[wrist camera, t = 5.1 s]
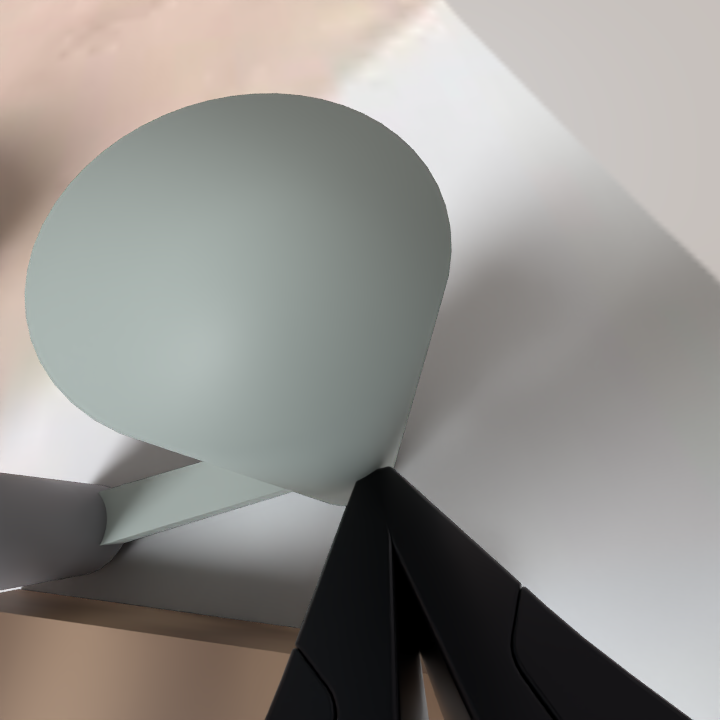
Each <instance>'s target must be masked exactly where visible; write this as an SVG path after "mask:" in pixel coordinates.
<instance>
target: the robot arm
mask: <svg viewBox="0 0 720 720" xmlns="http://www.w3.org/2000/svg"><path fill="white" fill-rule="evenodd" d="M295 647H296V648H294V649H293V650H292V651H291V654H290V657H289V659H288V662H287V665H286V668H285V670H284V673H283V676H282V678H281V681H280V683H279V686H278V688H277V691H276V693H275V696H274V698H273V700H272V703H271V705H270V708H269V710H268V713H267V715H266V718H265V720H429V717H428V710H427V702H426V695H425V688H424V681H423V673H422V666H421V659H420V654H421V657H422V660H423V663H424V665H425V668H426V671H427V674H428V677H429V679H430V682H431V685H432V688H433V690H434V693H435V696H436V699H437V701H438V704H439V707H440V710H441V713H442V715H443V718H444V720H692V719H691V718H690V717H688V716H687V715H685V714H684V713H683V712H681V711H680V710H679V709H677V708H676V707H675V706H673V705H672V704H671V703H669V702H668V701H667V700H665V699H664V698H663V697H661V696H660V695H659V694H657V693H656V692H654V691H653V690H652V689H650V688H649V687H648V686H646V685H645V684H644V683H642V682H641V681H640V680H638V679H637V678H636V677H634V676H633V675H632V674H630V673H629V672H628V671H626V670H625V669H624V668H622V667H621V666H620V665H619V664H617V663H616V662H615V661H613V660H612V659H611V658H609V657H608V656H607V655H606V654H604V653H603V652H602V651H600V650H599V649H598V648H596V647H595V646H594V645H593V644H591V643H590V642H589V641H587V640H586V639H585V638H584V637H582V636H581V635H580V634H579V633H578V632H577V631H575V630H574V629H573V628H572V627H571V626H569V625H568V624H567V623H566V622H565V621H564V620H562V619H561V618H560V617H559V616H558V615H557V614H555V613H554V612H553V611H552V610H551V609H549V608H548V607H547V606H546V605H545V604H544V603H543V602H542V601H541V600H539V599H538V598H537V597H536V596H535V595H534V594H533V593H532V592H531V591H529V590H528V589H527V588H526V587H522V586H521V583H520V582H519V581H518V580H517V579H516V578H515V577H514V576H512V575H511V574H510V573H509V572H508V571H507V570H506V569H505V568H504V567H502V566H501V565H500V564H499V563H498V562H497V561H496V560H495V559H494V558H492V557H491V556H490V555H489V554H488V553H487V552H486V551H485V550H484V549H482V548H481V547H480V546H479V545H478V544H477V543H476V542H475V541H474V540H472V539H471V538H470V537H469V536H468V535H467V534H466V533H465V532H464V531H462V530H461V529H460V528H459V527H458V526H457V525H456V524H455V523H454V522H452V521H451V520H450V519H449V518H448V517H447V516H446V515H445V514H444V513H442V512H441V511H440V510H439V509H438V508H437V507H436V506H435V505H434V504H432V503H431V502H430V501H429V500H428V499H427V498H426V497H425V496H424V495H422V494H421V493H420V492H419V491H418V490H417V489H416V488H415V487H414V486H412V485H411V484H410V483H409V482H408V481H407V480H406V479H405V478H404V477H402V476H401V475H400V474H399V473H398V472H397V471H396V470H395V469H393V468H392V467H390V466H386V467H383V468H379V469H376V470H375V471H373V472H372V473H370V474H369V475H367V476H366V477H364V478H362V479H360V480H358V481H356V482H355V485H354V487H353V490H352V493H351V495H350V498H349V501H348V503H347V506H346V509H345V511H344V514H343V517H342V519H341V522H340V525H339V527H338V530H337V533H336V535H335V538H334V541H333V543H332V546H331V549H330V551H329V554H328V557H327V559H326V562H325V564H324V567H323V570H322V572H321V575H320V578H319V580H318V583H317V586H316V588H315V591H314V594H313V596H312V599H311V602H310V604H309V607H308V610H307V612H306V615H305V618H304V620H303V623H302V626H301V628H300V631H299V634H298V636H297V639H296V642H295Z"/></svg>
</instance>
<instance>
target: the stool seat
mask: <svg viewBox="0 0 720 720" xmlns="http://www.w3.org/2000/svg"><path fill="white" fill-rule="evenodd" d="M299 631H300V628H293V627H286V626H279V625H272V624H265V623H258V622H250V621H243V620H236V619H229V618H222V617H215V616H207V615H200V614H193V613H186V612H179V611H172V610H165V609H157V608H150V607H143V606H136V605H129V604H122V603H114V602H107V601H100V600H93V599H86V598H79V597H71V596H64V595H57V594H50V593H43V592H36V591H29V590H21V589H17V590H12V591H7V592H2V593H0V720H265V718H266V715H267V713H268V710H269V708H270V705H271V703H272V700H273V698H274V696H275V693H276V691H277V688H278V686H279V683H280V681H281V678H282V676H283V673H284V670H285V668H286V665H287V662H288V659H289V657H290V654H291V651H292V650H293V649H294V648H296V647H295V642H296V639H297V636H298V634H299ZM420 659H421V666H422V673H423V681H424V688H425V695H426V702H427V710H428V717H429V720H444V718H443V715H442V713H441V710H440V707H439V704H438V701H437V699H436V696H435V693H434V690H433V688H432V685H431V682H430V679H429V677H428V674H427V671H426V668H425V665H424V663H423V660H422V657H421V654H420Z"/></svg>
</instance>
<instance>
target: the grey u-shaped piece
mask: <svg viewBox="0 0 720 720" xmlns="http://www.w3.org/2000/svg"><path fill="white" fill-rule="evenodd" d="M450 260H451V230H450V223H449V219H448V214H447V209H446V205H445V202H444V200H443V197H442V195H441V192H440V190H439V187H438V185H437V183H436V181H435V180H434V178H433V176H432V174H431V173H430V171H429V169H428V167H427V166H426V165H425V164H424V162H423V161H422V160H421V159H420V157H419V156H418V155H417V154H416V152H415V151H414V150H413V149H412V148H411V147H410V146H409V145H408V144H407V143H406V142H405V141H404V140H402V139H401V138H400V137H399V136H398V135H397V134H395V133H394V132H393V131H391V130H390V129H388V128H387V127H386V126H384V125H383V124H381V123H380V122H378V121H376V120H374V119H372V118H370V117H369V116H367V115H365V114H363V113H361V112H358V111H356V110H353V109H351V108H348V107H346V106H344V105H340V104H337V103H333V102H330V101H326V100H323V99H318V98H313V97H307V96H301V95H291V94H278V93H272V94H247V95H237V96H229V97H224V98H219V99H214V100H209V101H205V102H201V103H198V104H194V105H191V106H187V107H184V108H182V109H179V110H176V111H174V112H171V113H168V114H166V115H163V116H161V117H159V118H157V119H155V120H153V121H151V122H149V123H147V124H145V125H143V126H141V127H139V128H138V129H136V130H134V131H132V132H131V133H129V134H127V135H126V136H124V137H122V138H121V139H120V140H118V141H117V142H115V143H114V144H113V145H111V146H110V147H109V148H107V149H106V150H104V151H103V152H102V153H101V154H100V155H98V156H97V157H96V158H95V159H94V160H93V161H92V162H91V163H89V164H88V165H87V166H86V167H85V168H84V169H83V170H82V171H81V172H80V173H79V174H78V175H77V177H76V178H75V179H74V180H73V181H72V182H71V183H70V184H69V185H68V187H67V188H66V189H65V191H64V192H63V193H62V195H61V196H60V197H59V199H58V200H57V201H56V203H55V204H54V206H53V208H52V209H51V211H50V213H49V215H48V216H47V218H46V220H45V221H44V223H43V225H42V227H41V230H40V232H39V235H38V237H37V239H36V242H35V244H34V246H33V250H32V254H31V258H30V261H29V265H28V269H27V277H26V286H25V309H26V319H27V324H28V329H29V333H30V338H31V341H32V344H33V346H34V348H35V351H36V353H37V356H38V358H39V360H40V363H41V364H42V366H43V367H44V369H45V371H46V372H47V374H48V375H49V377H50V378H51V380H52V381H53V383H54V384H55V385H56V386H57V388H58V389H59V390H60V391H61V392H62V393H63V394H64V395H65V396H66V397H67V398H68V399H69V400H70V402H71V403H72V404H74V405H75V406H76V407H78V408H79V409H80V410H82V411H83V412H84V413H86V414H87V415H88V416H90V417H91V418H92V419H94V420H95V421H97V422H99V423H101V424H103V425H105V426H107V427H109V428H110V429H112V430H114V431H116V432H118V433H120V434H123V435H126V436H129V437H132V438H135V439H138V440H141V441H143V442H146V443H149V444H152V445H155V446H158V447H161V448H164V449H167V450H170V451H173V452H176V453H179V454H182V455H185V456H188V457H191V458H194V459H197V460H200V461H202V462H199V463H195V464H192V465H189V466H185V467H182V468H178V469H175V470H172V471H168V472H165V473H161V474H158V475H155V476H151V477H148V478H145V479H141V480H138V481H134V482H131V483H128V484H124V485H121V486H117V487H114V488H110V487H107V486H102V485H94V484H86V483H78V482H71V481H63V480H55V479H47V478H39V477H31V476H23V475H15V474H7V473H0V590H5V589H10V588H16V587H21V586H26V585H32V584H37V583H42V582H48V581H53V580H59V579H64V578H69V577H75V576H80V575H85V574H89V573H92V572H94V571H96V570H98V569H100V568H102V567H103V566H105V565H106V564H107V563H108V562H109V561H111V559H112V558H113V557H114V556H115V555H116V554H117V552H118V551H119V550H120V548H121V546H122V545H123V543H126V542H129V541H132V540H136V539H139V538H142V537H145V536H149V535H152V534H155V533H159V532H162V531H165V530H168V529H172V528H175V527H178V526H182V525H185V524H188V523H191V522H195V521H198V520H201V519H205V518H208V517H211V516H214V515H218V514H221V513H224V512H228V511H231V510H234V509H237V508H241V507H244V506H247V505H251V504H254V503H257V502H260V501H264V500H267V499H270V498H274V497H277V496H280V495H283V494H287V493H290V492H296V493H299V494H302V495H305V496H308V497H311V498H314V499H317V500H320V501H323V502H326V503H329V504H332V505H338V506H347V503H348V501H349V498H350V495H351V493H352V490H353V487H354V485H355V482H356V481H358V480H360V479H362V478H364V477H366V476H367V475H369V474H370V473H372V472H373V471H375V470H376V469H379V468H383V467H386V466H390V467H392V468H394V465H395V462H396V458H397V455H398V451H399V448H400V444H401V441H402V437H403V434H404V430H405V427H406V423H407V420H408V416H409V413H410V409H411V406H412V402H413V399H414V395H415V392H416V388H417V385H418V381H419V378H420V374H421V371H422V367H423V364H424V360H425V357H426V353H427V350H428V347H429V343H430V340H431V336H432V333H433V329H434V326H435V322H436V319H437V315H438V312H439V308H440V305H441V301H442V298H443V294H444V290H445V287H446V283H447V280H448V276H449V269H450Z"/></svg>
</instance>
